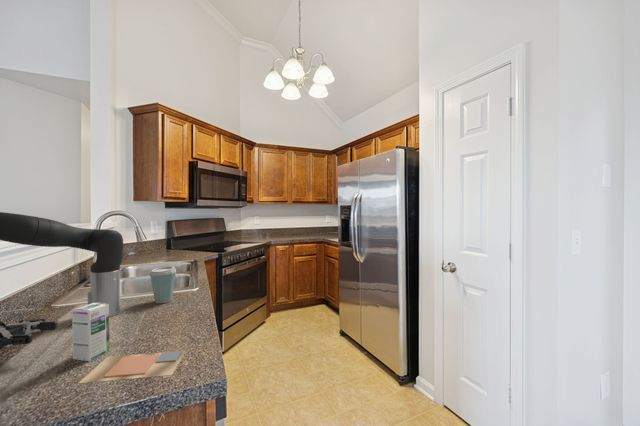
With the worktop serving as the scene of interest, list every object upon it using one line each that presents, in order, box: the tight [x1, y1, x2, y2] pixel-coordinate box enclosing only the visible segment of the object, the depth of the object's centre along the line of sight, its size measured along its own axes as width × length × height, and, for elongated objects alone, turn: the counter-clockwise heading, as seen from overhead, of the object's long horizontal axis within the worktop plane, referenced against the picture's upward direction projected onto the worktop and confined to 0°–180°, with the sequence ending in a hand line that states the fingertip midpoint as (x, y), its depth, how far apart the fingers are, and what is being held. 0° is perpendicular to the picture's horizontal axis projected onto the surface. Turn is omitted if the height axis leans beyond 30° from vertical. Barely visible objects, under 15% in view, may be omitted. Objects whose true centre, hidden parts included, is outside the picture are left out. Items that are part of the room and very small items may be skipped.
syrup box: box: [71, 303, 110, 362], centre depth 77 cm, size 6×6×14 cm
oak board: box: [77, 350, 187, 385], centre depth 72 cm, size 20×12×1 cm, turn 100°
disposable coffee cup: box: [149, 265, 177, 304], centre depth 127 cm, size 11×11×15 cm
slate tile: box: [156, 350, 183, 363], centre depth 76 cm, size 5×5×1 cm
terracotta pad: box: [104, 354, 159, 378], centre depth 72 cm, size 9×9×1 cm
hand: (44, 331), depth 75 cm, fingers open, 8 cm apart
